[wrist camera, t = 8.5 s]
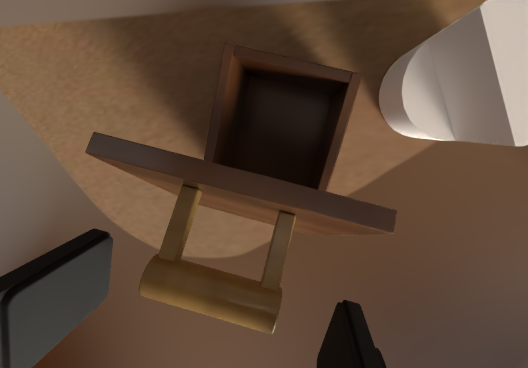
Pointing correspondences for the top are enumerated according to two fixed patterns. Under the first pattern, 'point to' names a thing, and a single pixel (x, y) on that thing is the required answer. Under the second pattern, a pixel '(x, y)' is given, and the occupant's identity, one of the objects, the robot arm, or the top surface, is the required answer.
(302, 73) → the compartment
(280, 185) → the compartment lid
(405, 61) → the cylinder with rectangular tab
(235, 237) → the top surface
